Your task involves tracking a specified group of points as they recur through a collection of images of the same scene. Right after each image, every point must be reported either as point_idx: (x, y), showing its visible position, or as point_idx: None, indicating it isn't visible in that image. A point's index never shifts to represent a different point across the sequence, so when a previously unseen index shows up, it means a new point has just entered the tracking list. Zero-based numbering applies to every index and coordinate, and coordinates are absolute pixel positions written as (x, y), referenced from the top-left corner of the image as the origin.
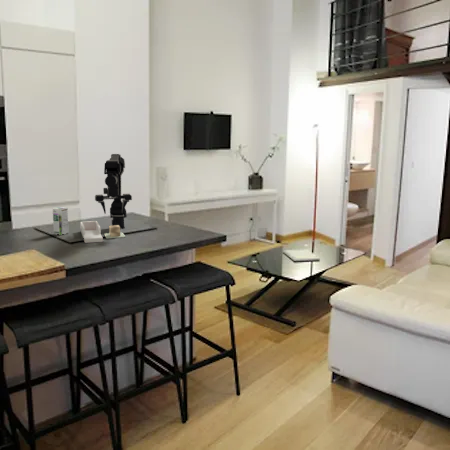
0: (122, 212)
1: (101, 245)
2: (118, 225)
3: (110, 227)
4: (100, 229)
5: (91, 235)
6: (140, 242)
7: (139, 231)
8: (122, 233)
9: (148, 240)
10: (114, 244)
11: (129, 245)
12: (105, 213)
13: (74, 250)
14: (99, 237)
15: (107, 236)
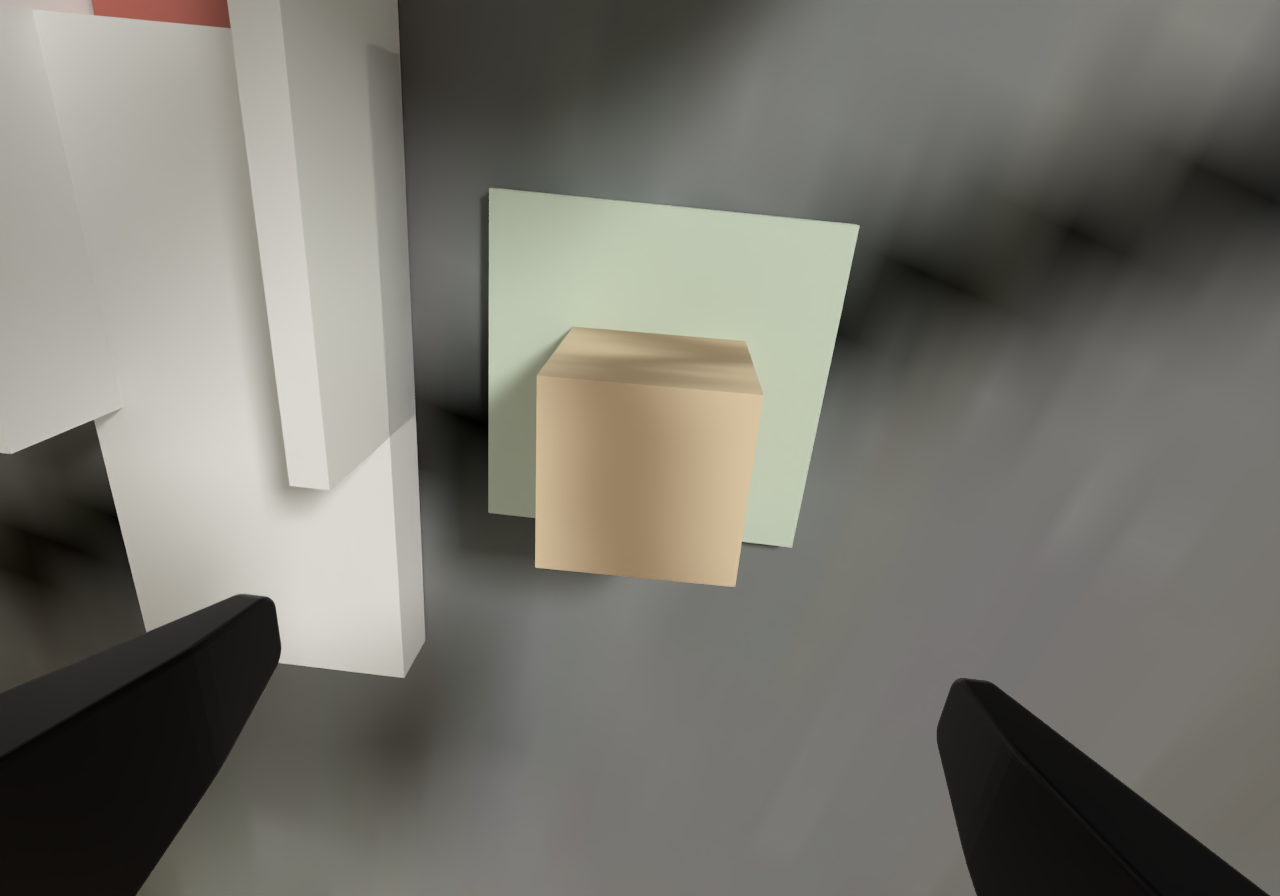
0: (946, 761)
1: (394, 781)
2: (748, 437)
3: (536, 540)
4: (347, 472)
5: (233, 484)
6: (867, 834)
7: (1248, 191)
8: (821, 329)
9: None
10: (546, 798)
11: (698, 885)
12: (269, 669)
13: None
14: (358, 644)
15: (516, 446)
